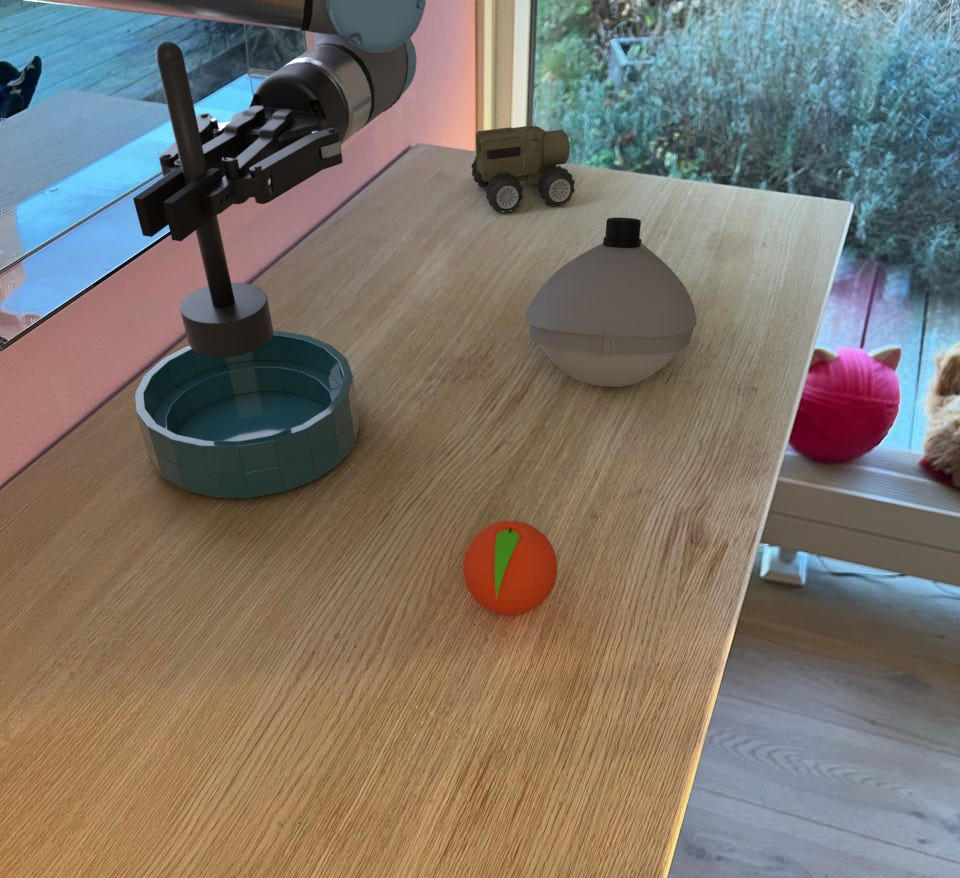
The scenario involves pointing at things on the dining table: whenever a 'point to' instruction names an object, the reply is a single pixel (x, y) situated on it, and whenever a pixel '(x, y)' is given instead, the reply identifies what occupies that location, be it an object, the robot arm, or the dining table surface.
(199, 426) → the bowl
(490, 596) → the clementine
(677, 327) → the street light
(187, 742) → the dining table surface
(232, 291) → the black peg stand
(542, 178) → the toy vehicle
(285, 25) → the robot arm
